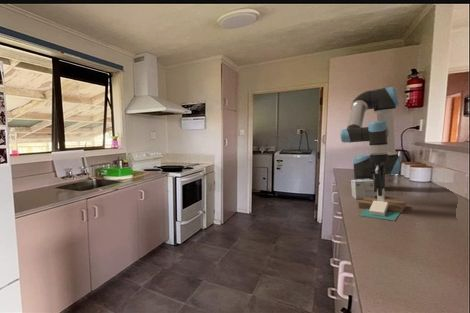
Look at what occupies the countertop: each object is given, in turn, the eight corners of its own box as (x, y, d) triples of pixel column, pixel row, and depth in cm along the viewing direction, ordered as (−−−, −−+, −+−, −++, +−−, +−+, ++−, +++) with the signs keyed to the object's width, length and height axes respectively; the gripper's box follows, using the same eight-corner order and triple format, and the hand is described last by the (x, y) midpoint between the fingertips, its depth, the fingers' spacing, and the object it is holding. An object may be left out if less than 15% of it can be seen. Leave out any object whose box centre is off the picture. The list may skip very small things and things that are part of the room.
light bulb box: (369, 195, 141) (368, 178, 140) (375, 198, 134) (374, 180, 134) (351, 196, 142) (350, 179, 141) (356, 199, 135) (354, 181, 135)
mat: (366, 209, 117) (366, 208, 117) (399, 213, 107) (399, 212, 107) (358, 215, 108) (358, 215, 108) (394, 221, 99) (394, 220, 99)
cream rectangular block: (374, 204, 114) (373, 200, 114) (388, 205, 110) (387, 201, 110) (369, 214, 109) (368, 210, 108) (384, 216, 104) (383, 212, 104)
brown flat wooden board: (365, 202, 128) (365, 197, 128) (405, 206, 116) (405, 200, 115) (358, 208, 120) (358, 202, 119) (401, 213, 107) (401, 207, 107)
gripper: (373, 152, 119) (375, 198, 120) (366, 155, 109) (368, 204, 111) (390, 152, 113) (393, 199, 115) (384, 154, 104) (387, 206, 105)
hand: (381, 201), depth 113 cm, fingers closed
